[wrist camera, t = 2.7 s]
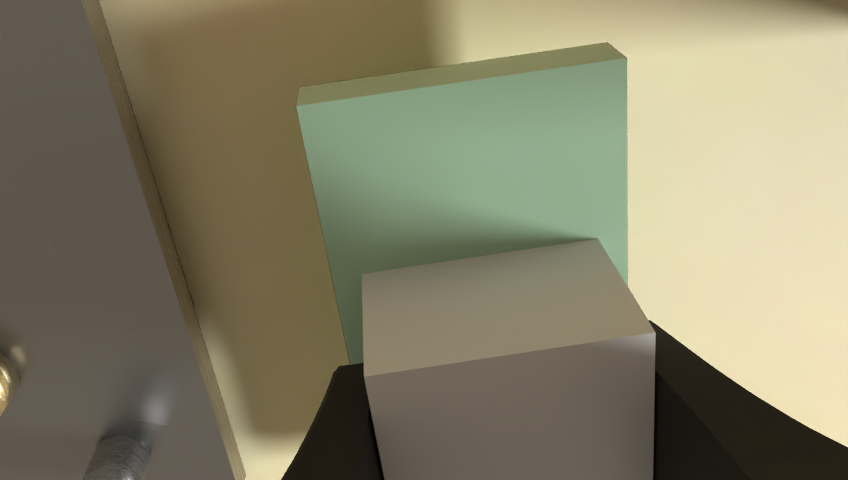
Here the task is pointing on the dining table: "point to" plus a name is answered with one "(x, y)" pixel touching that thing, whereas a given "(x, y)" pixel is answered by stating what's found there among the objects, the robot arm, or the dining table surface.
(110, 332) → the chassis
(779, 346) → the dining table surface
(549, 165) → the board
